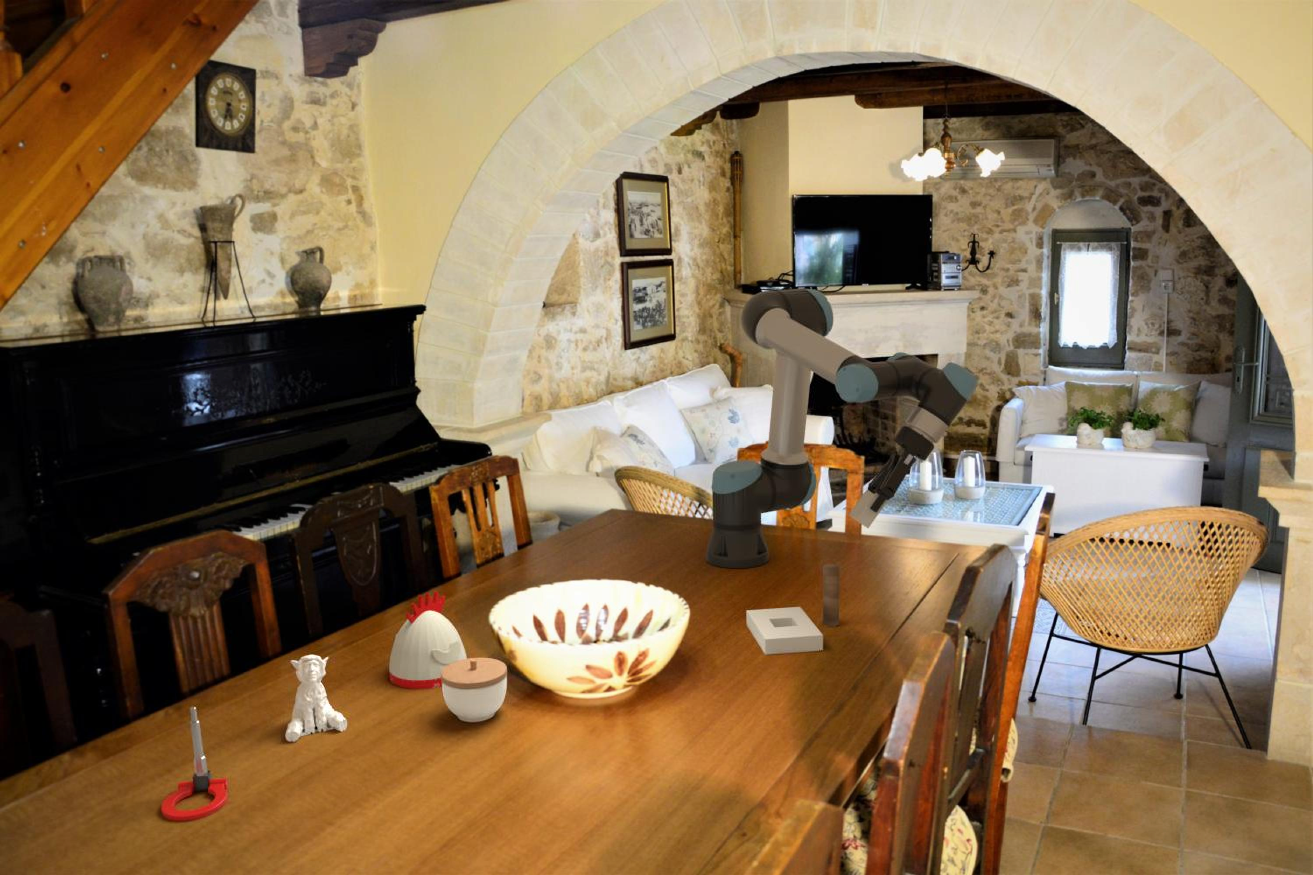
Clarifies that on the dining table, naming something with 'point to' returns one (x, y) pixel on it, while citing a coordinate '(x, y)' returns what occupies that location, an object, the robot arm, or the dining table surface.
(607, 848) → the dining table surface
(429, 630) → the kitchen timer
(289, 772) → the dining table surface
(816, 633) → the hole block
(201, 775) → the tow hook
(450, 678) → the lidded jar
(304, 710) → the white creature statuette
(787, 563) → the dining table surface
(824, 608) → the peg
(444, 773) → the dining table surface
